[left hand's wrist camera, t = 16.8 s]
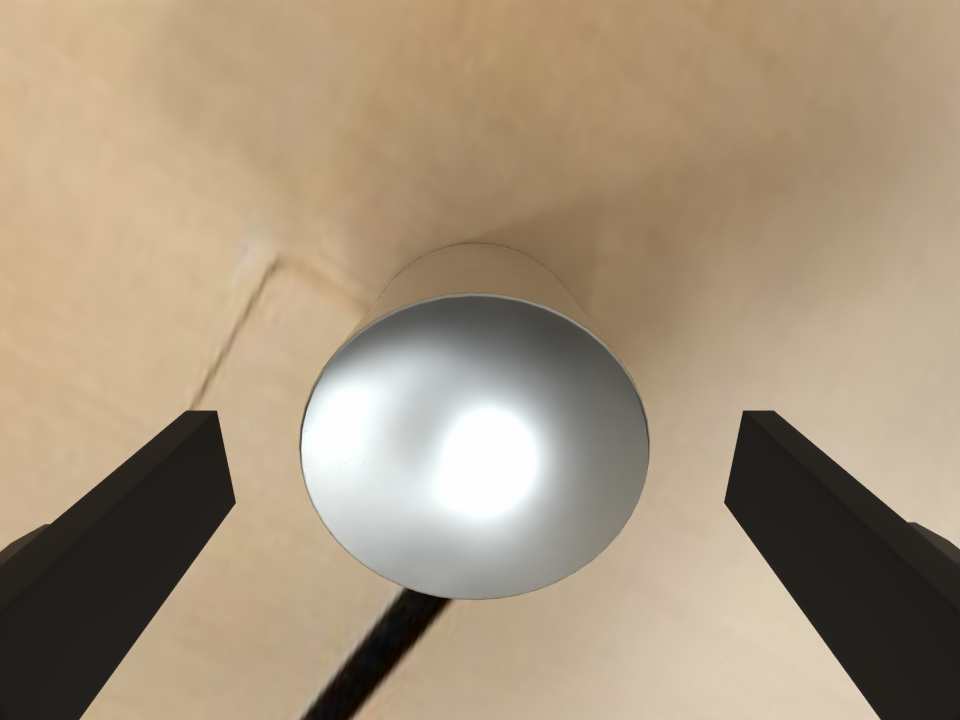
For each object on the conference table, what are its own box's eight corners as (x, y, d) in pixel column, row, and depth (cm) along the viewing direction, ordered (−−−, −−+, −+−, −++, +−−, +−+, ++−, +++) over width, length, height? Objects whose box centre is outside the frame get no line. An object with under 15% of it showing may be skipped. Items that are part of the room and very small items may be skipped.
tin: (536, 204, 20) (580, 227, 11) (611, 401, 22) (692, 538, 14) (329, 297, 21) (228, 382, 12) (426, 472, 24) (397, 639, 15)
